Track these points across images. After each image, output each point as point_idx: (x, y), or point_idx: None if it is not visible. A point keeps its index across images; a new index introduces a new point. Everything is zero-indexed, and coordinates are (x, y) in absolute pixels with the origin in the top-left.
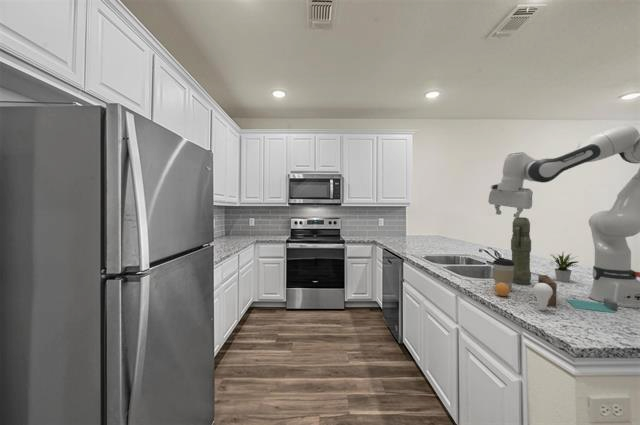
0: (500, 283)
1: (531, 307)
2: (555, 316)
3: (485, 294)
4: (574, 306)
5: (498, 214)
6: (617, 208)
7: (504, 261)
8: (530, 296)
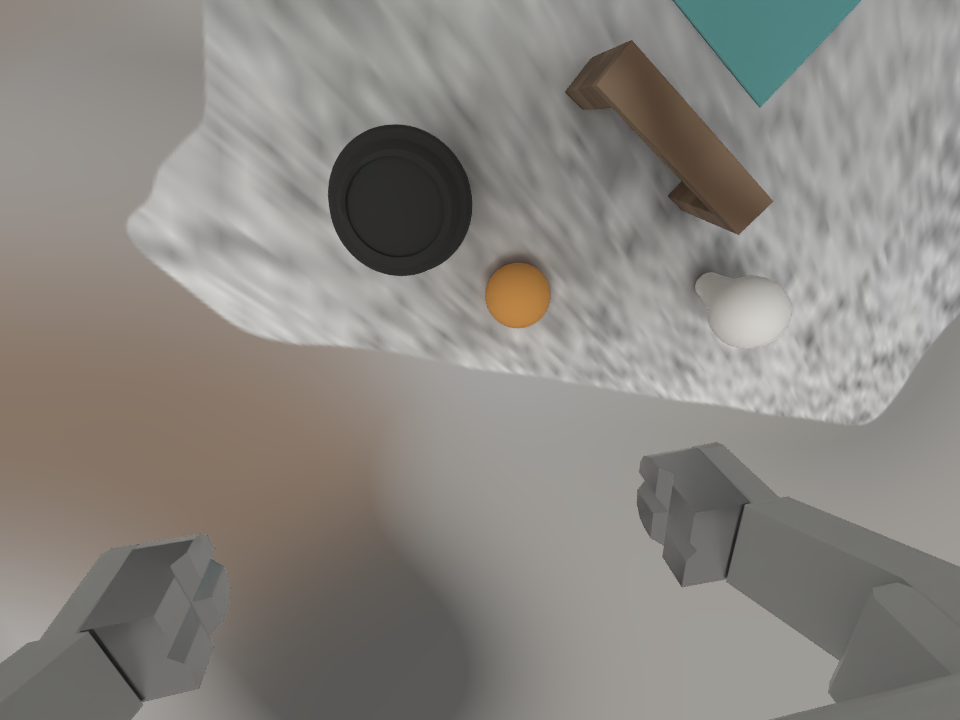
0: (521, 317)
1: (663, 290)
2: None
3: (477, 336)
4: (750, 90)
5: (219, 581)
6: None
7: (442, 245)
8: (561, 152)
